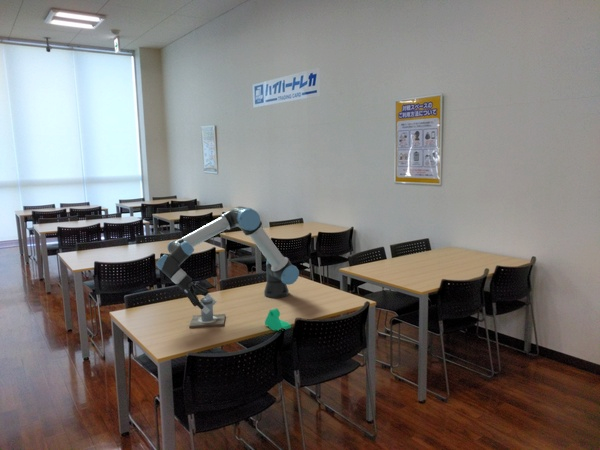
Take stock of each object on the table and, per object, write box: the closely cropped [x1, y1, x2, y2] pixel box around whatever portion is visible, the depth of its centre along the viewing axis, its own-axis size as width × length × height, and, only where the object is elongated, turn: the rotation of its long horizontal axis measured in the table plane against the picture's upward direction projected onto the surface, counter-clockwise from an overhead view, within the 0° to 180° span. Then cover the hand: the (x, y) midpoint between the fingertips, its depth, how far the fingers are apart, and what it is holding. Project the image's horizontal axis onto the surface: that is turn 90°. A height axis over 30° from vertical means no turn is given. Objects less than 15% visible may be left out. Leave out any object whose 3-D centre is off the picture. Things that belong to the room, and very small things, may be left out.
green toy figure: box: [264, 308, 292, 332], centre depth 228 cm, size 12×8×10 cm, turn 41°
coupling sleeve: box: [199, 297, 214, 322], centre depth 237 cm, size 6×6×11 cm
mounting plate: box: [188, 313, 226, 329], centre depth 238 cm, size 15×17×1 cm
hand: (211, 307), depth 237 cm, fingers open, 13 cm apart
